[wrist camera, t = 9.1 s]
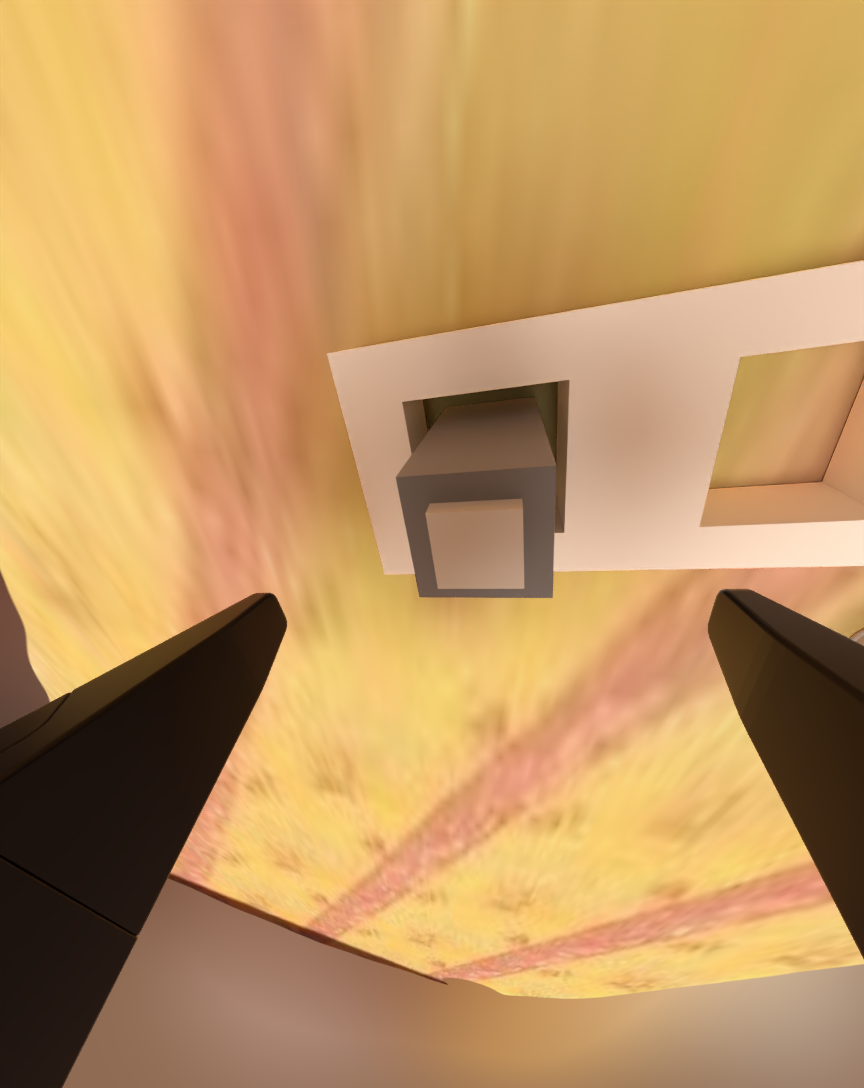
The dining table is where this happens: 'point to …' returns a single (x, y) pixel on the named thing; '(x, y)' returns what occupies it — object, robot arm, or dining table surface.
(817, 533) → the socket strip
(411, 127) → the dining table surface
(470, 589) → the plug
